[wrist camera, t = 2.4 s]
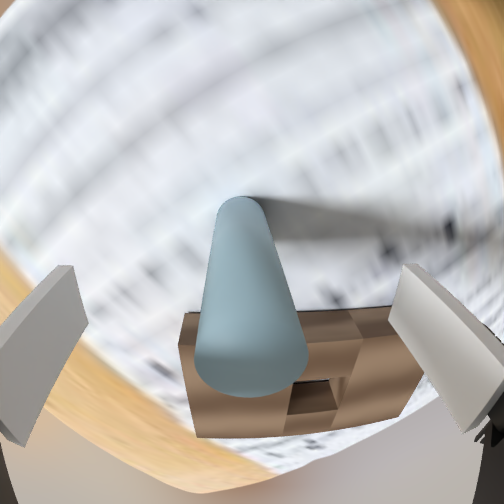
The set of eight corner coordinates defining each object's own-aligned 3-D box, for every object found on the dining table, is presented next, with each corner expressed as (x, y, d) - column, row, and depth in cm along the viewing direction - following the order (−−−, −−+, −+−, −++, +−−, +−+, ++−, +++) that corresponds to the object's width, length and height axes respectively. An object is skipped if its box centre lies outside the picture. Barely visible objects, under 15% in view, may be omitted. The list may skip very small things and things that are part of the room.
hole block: (184, 313, 21) (177, 344, 18) (425, 303, 22) (446, 326, 19) (199, 409, 26) (196, 437, 22) (387, 393, 27) (398, 416, 24)
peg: (216, 196, 18) (188, 317, 7) (265, 196, 18) (316, 316, 7) (216, 242, 19) (199, 397, 8) (263, 242, 19) (300, 394, 8)
